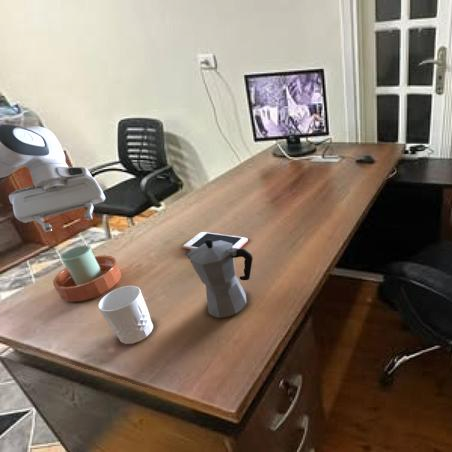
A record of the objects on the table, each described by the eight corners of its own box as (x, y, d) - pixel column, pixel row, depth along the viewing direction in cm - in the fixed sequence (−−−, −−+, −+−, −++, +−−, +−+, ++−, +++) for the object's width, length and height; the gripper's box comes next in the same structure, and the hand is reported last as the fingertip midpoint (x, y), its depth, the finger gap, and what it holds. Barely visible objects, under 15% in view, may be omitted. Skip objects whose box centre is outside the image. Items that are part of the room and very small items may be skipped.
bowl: (76, 311, 85) (66, 295, 83) (53, 292, 93) (44, 277, 90) (132, 279, 95) (125, 264, 93) (107, 264, 103) (100, 250, 100)
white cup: (115, 352, 73) (95, 316, 68) (118, 327, 79) (100, 293, 74) (156, 337, 75) (139, 302, 70) (156, 315, 81) (141, 281, 77)
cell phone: (202, 233, 114) (201, 231, 114) (248, 240, 108) (248, 237, 107) (183, 248, 107) (182, 245, 106) (231, 256, 101) (231, 253, 100)
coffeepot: (192, 318, 80) (167, 252, 71) (210, 291, 88) (189, 229, 79) (257, 320, 77) (239, 252, 68) (269, 291, 85) (255, 228, 77)
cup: (84, 294, 90) (66, 262, 85) (74, 286, 93) (56, 255, 88) (110, 280, 94) (94, 249, 89) (99, 273, 97) (83, 243, 93)
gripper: (1, 186, 89) (16, 234, 87) (92, 166, 98) (108, 208, 96) (12, 197, 95) (27, 242, 92) (98, 176, 104) (113, 217, 101)
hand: (69, 224), depth 94 cm, fingers open, 8 cm apart
